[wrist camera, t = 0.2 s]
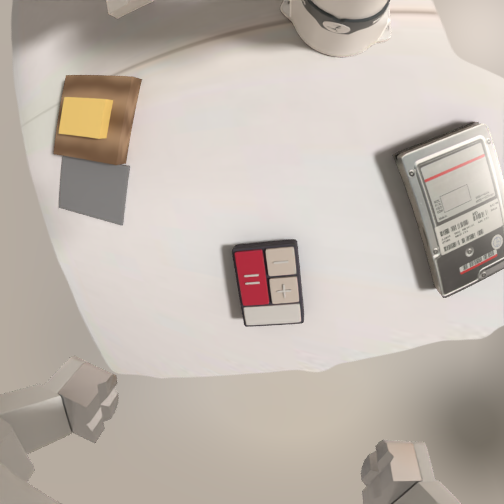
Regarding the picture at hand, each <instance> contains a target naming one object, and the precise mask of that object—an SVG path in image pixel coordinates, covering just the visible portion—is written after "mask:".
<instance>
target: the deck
mask: <svg viewBox="0 0 504 504" xmlns="http://www.w3.org/2000/svg"><path fill="white" fill-rule="evenodd" d="M141 81H142V79H138V78H135V77H128V76H104V75H66V78H65V83H64V88H63V93H62V98H61V104H60V110H59V116H58V122H57V129H56V137H55V145H54V154H57V155H63V156H69V157H75V158H80V159H86V160H91V161H97V162H102V163H107V164H113V165H120V164H125V163H126V159H127V153H128V147H129V140H130V135H131V129H132V124H133V118H134V113H135V108H136V103H137V99H138V94H139V89H140V85H141ZM64 97H78V98H96V99H109V100H113V104H112V109H111V115H110V120H109V126H108V132H107V138H102V139H97V138H90V137H83V136H75V135H67V134H59V126H60V120H61V113H62V107H63V102H64Z"/></svg>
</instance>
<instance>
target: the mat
mask: <svg viewBox="0 0 504 504" xmlns="http://www.w3.org/2000/svg"><path fill="white" fill-rule="evenodd" d="M129 170H130V166H126V165H121V164H120V165H113V164H107V163H102V162H97V161H91V160H86V159H80V158H75V157H69V156H63V157H62V167H61V179H60V194H59V208H62V209H66V210H69V211H73V212H76V213H80V214H83V215H87V216H90V217H94V218H97V219H101V220H104V221H108V222H111V223H115V224H119V225H123V220H124V210H125V201H126V193H127V185H128V177H129Z"/></svg>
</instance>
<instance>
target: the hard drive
mask: <svg viewBox="0 0 504 504" xmlns="http://www.w3.org/2000/svg"><path fill="white" fill-rule="evenodd" d="M393 156H394V159H395V161H396V164H397V167H398V169H399V172H400V175H401V177H402V180H403V183H404V185H405V188H406V191H407V194H408V197H409V200H410V203H411V206H412V209H413V212H414V215H415V218H416V221H417V224H418V227H419V231H420V234H421V237H422V241H423V244H424V248H425V251H426V255H427V259H428V263H429V266H430V270H431V274H432V278H433V283H434V286H435V287H436V289H437V290H438V292H439V293H440V294H441V295H442V297H443V298H446V297H449V296H451V295H453V294H455V293H457V292H459V291H461V290H463V289H466V288H468V287H470V286H472V285H474V284H475V283H477V282H479V281H481V280H483V279H485V278H487V277H489V276H491V275H493V274H495V273H497V272H498V271H500V270H502V269H504V180H503V176H502V172H501V168H500V164H499V161H498V157H497V154H496V150H495V147H494V143H493V140H492V137H491V134H490V131H489V128H488V127H487V125H486V124H479V122H474V123H472V124H469V125H466V126H464V127H461V128H459V129H456V130H453V131H451V132H448V133H446V134H443V135H441V136H438V137H436V138H433V139H430V140H428V141H425V142H423V143H420V144H418V145H415V146H413V147H410V148H408V149H405V150H403V151H401V152H398V153H396V154H393Z"/></svg>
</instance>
